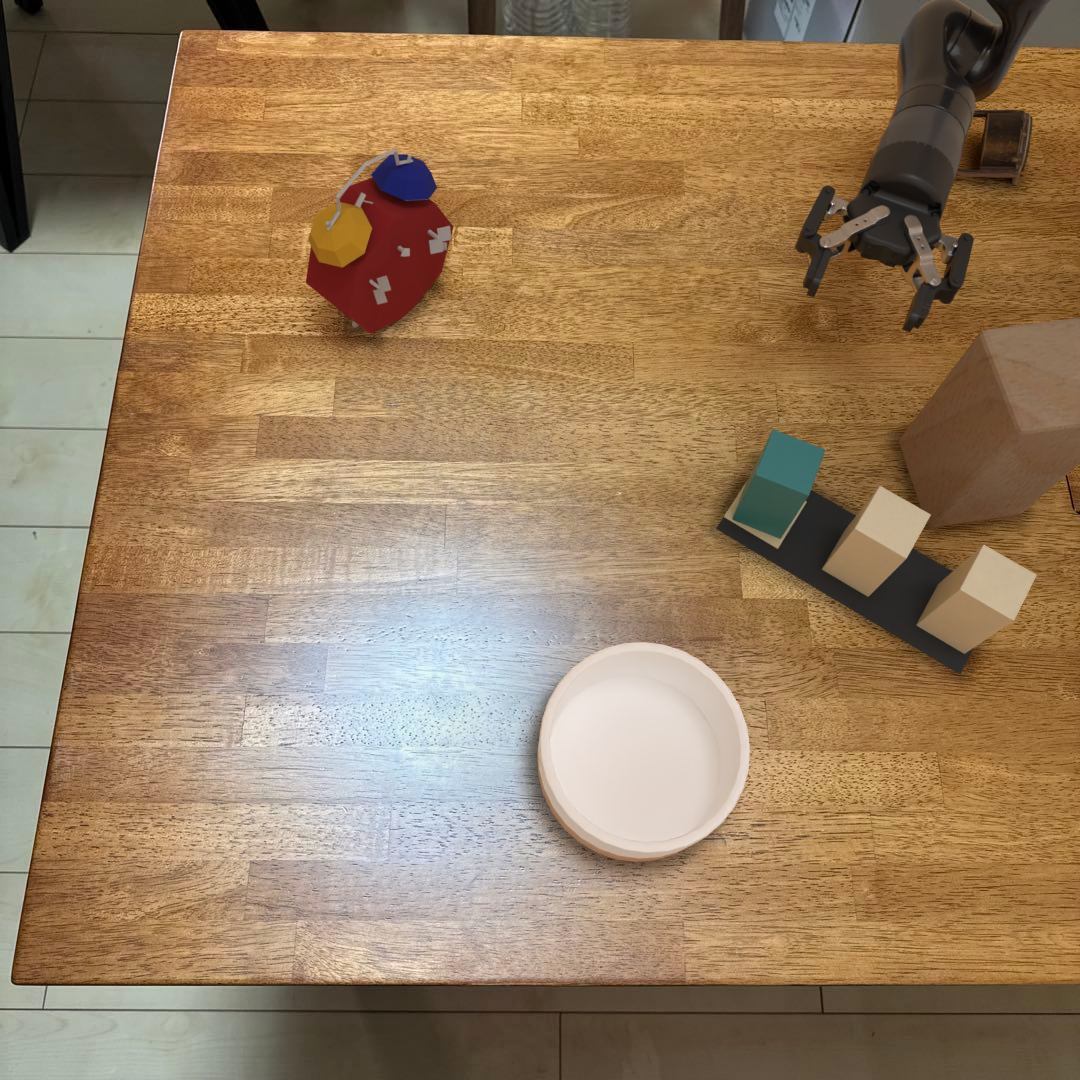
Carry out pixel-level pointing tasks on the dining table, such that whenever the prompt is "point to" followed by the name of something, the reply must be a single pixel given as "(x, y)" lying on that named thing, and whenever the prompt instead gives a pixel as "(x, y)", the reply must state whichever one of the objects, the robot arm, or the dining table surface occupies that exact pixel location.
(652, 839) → the bowl
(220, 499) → the dining table surface
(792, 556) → the mat
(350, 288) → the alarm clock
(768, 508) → the teal block
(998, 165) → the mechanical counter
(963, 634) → the cream block
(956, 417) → the wooden block
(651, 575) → the dining table surface
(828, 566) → the cream block
